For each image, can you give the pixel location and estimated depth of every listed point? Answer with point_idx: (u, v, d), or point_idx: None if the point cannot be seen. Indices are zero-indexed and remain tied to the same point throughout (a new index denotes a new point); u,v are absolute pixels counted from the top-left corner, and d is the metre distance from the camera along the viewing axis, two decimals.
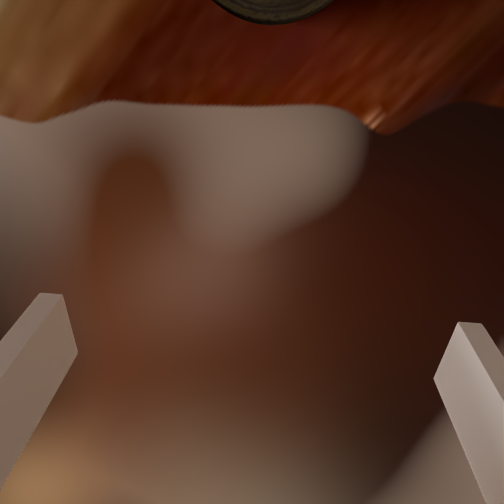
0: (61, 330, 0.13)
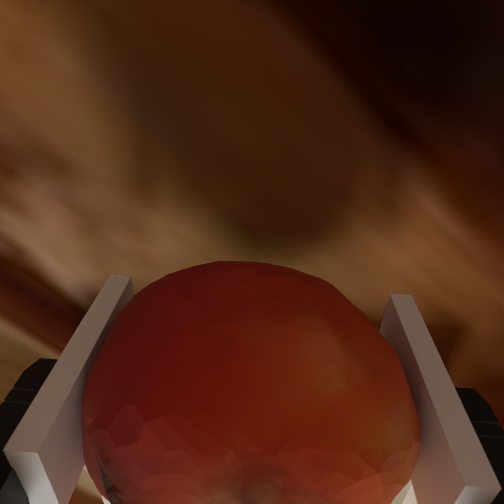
0: None
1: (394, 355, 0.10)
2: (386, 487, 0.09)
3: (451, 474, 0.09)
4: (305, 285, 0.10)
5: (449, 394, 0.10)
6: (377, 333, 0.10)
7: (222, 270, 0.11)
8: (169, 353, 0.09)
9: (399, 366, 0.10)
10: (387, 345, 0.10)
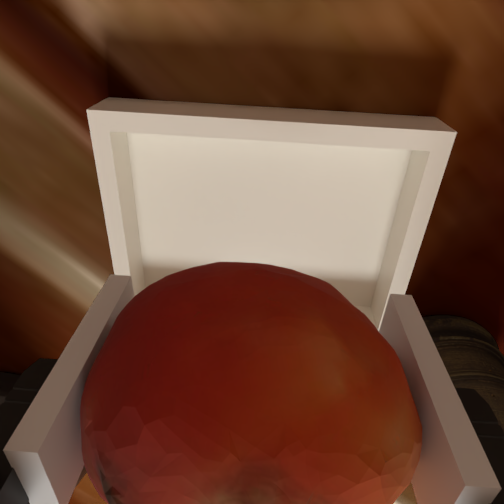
0: None
1: (395, 356, 0.10)
2: (387, 489, 0.09)
3: (451, 474, 0.09)
4: (306, 286, 0.10)
5: (449, 394, 0.10)
6: (378, 334, 0.10)
7: (222, 271, 0.11)
8: (169, 354, 0.09)
9: (400, 367, 0.10)
10: (388, 346, 0.10)
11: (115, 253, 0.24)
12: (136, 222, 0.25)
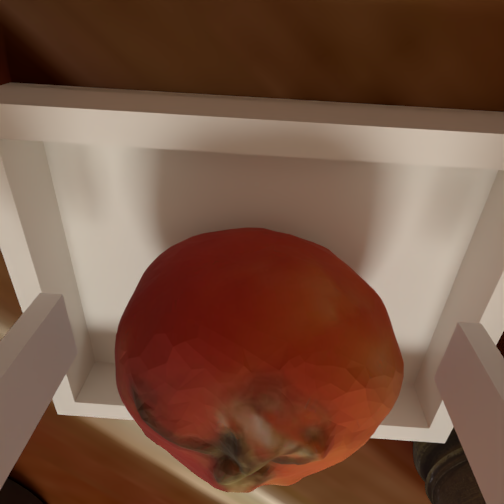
0: (61, 330, 0.13)
1: (380, 301, 0.12)
2: (371, 404, 0.10)
3: None
4: (306, 244, 0.12)
5: None
6: (366, 284, 0.12)
7: (234, 233, 0.13)
8: (192, 292, 0.11)
9: (384, 310, 0.12)
10: (374, 293, 0.12)
11: None
12: (70, 271, 0.17)
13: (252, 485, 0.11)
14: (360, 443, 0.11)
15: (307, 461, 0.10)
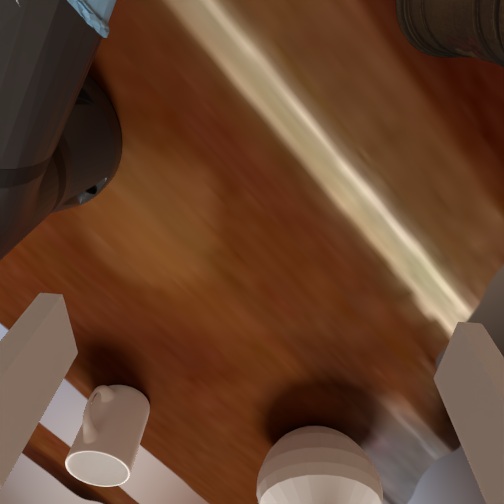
0: (61, 330, 0.13)
1: None
2: None
3: None
4: None
5: None
6: None
7: None
8: None
9: None
10: None
11: None
12: None
13: None
14: None
15: None
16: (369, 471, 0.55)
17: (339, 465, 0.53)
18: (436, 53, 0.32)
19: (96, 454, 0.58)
